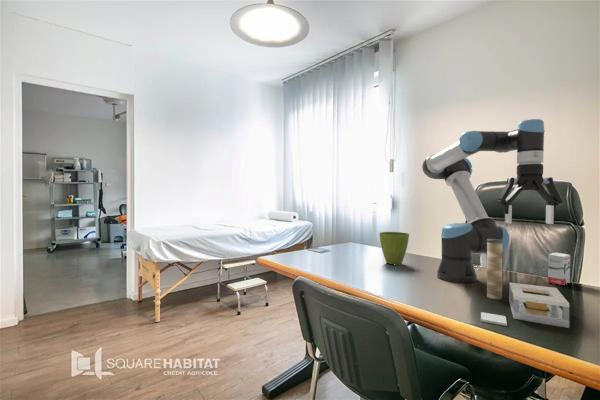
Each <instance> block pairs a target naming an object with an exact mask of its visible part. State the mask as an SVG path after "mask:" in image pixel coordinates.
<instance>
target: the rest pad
mask: <svg viewBox="0 0 600 400" xmlns="http://www.w3.org/2000/svg"><path fill="white" fill-rule="evenodd" d="M480 322H483V323H489V324H493V325H500V326H505V327H508V322H507V317H506V316H505V315H501V314H495V313H488V312H483V311H480Z"/></svg>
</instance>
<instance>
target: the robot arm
mask: <svg viewBox="0 0 600 400" xmlns="http://www.w3.org/2000/svg"><path fill="white" fill-rule="evenodd" d="M544 123H545V122H544V121H543V119H540V118H538V119H537V118H532V119H525V120H520V121H519V122H518V123H517V127H516V129H513V130H509V131H487V130H486V131H485V130H481V131H480V130H470V131H469V130H468V131H464V132H463V133H461V136H459V140H458V141H457V142H455V143H453V144H452V145H450V146H449V147H446V148H445V149H443V150H441V151H440V152H438V153H436V154H435V153H434V154H431V155H428V156H427V157H426V158H425V159H424V160H423V162H422V165H421V168H422V172H423V173H424V175H425V176H427V177H428V178H430V179H431V180H432V179H433V180H444V181H445V184H446V185H447V186H448V187H451V189H452V191H453V194H454V197H456V200H457V202H458V205H459V207H460V209H461V211H462V213H463V215H464V219H465V220H466V222H460V223H459V222H457V223H456V222H455V223H449V224H445V225H444V226H442V228H441V235H440V237H441V260H440V262H439V265H438V268H437V270H436V277H437V278H439V279H441V280H443V281H447V282H453V283H463V284H464V283H468V284H469V283H476V282H477V281H478V274H477V272H476V269H475V268H474V267H475V266H474V263H473V254H476V255H481V254H486V255H487V239H500V240H502V253H503V252H505V251H506V249H507V248H508V246H509V243H510V234H509V231H508V229H506V227H504V226H501V225H497V222H496V221H495V219H494V218H493V217H489V216H488V214H487V212H486V210H485V208H484V206H483V204H482V202H481V199H480V197H479V196H478V194H477V192H476V190H475V188H474V187H473V184H472V182H471V180H470V178H471V177H472V174H473V169H472V168H473V165H472V163H471V161H470V160H469V159H468V157H470V156H472V155H474V154H477V153H479V152H496V153H499V154H500V153H508V152H511V151H512V152H513V151H516V163H517V164H518V165H517V166H516V177H508V178H506V184H505V186H504V187H503V189H502V191H501V193H500V194H499V197H498V198H497V200H496V203H497V204H500V205H502V214H503V215H504V223H505V224H510V225H511V224H512V222H513V221H512V217H513V215H512V212H513V210H512V209H513V207H512V206H513V205H511V204H512V202H514V200H515V199H516V198H517V197H518V196H519V195H520V194H521V193H522V192H523V191H536V192H537V193H538V194H539V195H540V196H541V198H542V199H543V200H544V201H545V202H546V203H547V205H545V224H549V225H554V215H556V213H557V206H559V205H560V204H563V199H562V197H561V196H560V194H559V191H558V189H557V188H556V186H555V183H554V179H553V177H550V176H549V177H545V178H544V177H543V174H544V164H543V163H544V147H545V131H546V130H545V124H544ZM515 184H517V185H516V186H515V187H514V185H515ZM543 184H544V185H543ZM544 186H545V187H544ZM513 187H514V189H513ZM512 189H513V190H512ZM546 189H547V190H546ZM510 192H511V193H510Z"/></svg>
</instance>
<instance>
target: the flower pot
mask: <svg viewBox="0 0 600 400" xmlns="http://www.w3.org/2000/svg"><path fill="white" fill-rule="evenodd" d="M378 234H379V241H380V245H381V246H380V247H381V250H382V254H383V257H384V260H385V263H386V264H387V263H389V264H395V265H394V266H400V265H399V264H401V265H402V264H403V261H404V258H405V256H406V252H407V248H408V245H409V244H408V243H409V239H410V238H409V237H410V233H407V232H401V231H380V232H379V233H378ZM389 264H388V265H389Z"/></svg>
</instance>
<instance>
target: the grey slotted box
mask: <svg viewBox="0 0 600 400" xmlns="http://www.w3.org/2000/svg"><path fill="white" fill-rule="evenodd" d="M508 284H509V285H508V288H509V289H508V293H509V294H508V299H509V300H508V301H509V306H510V307H509V308H510V309H511V310H510V311H511V313H512V318H513V319H514V320H520V321H526V322H532V323H539V324H542V325H550V326H556V327H561V328H567V329H570V302H569V301H568V300H567V299H566V298H565V297H564V295H563V294H562V293H561V292H560V291H559V289H558V288H557V287H553V286H543V285H534V284H527V283H526V284H525V283H518V282H510V281H509V283H508ZM528 292H529V293H528ZM530 292H532V293H530ZM533 293H535V294H533ZM536 293H537V294H536ZM538 293H540V294H538ZM543 294H546V295H543ZM525 301H529V302H536V303H543V304H547V310H541V309H534V308H528V307H527V306H526V303H525Z"/></svg>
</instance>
